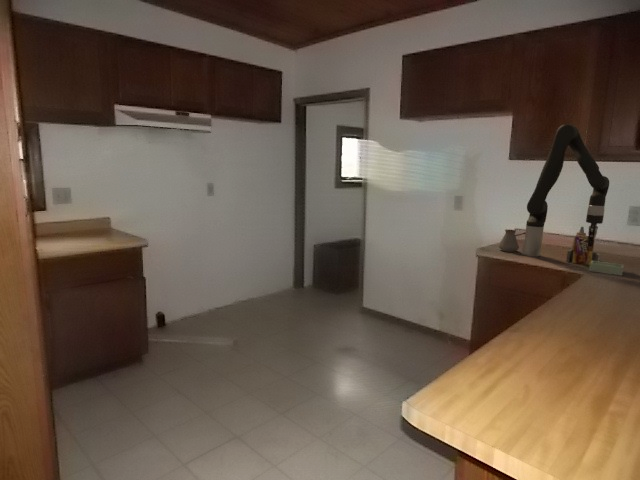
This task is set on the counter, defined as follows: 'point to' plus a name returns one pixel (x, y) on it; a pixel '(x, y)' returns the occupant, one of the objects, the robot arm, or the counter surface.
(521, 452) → the counter surface
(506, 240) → the coffee pot
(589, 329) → the counter surface
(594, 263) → the tray
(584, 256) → the candy box
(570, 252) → the bay
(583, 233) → the squeeze bottle
